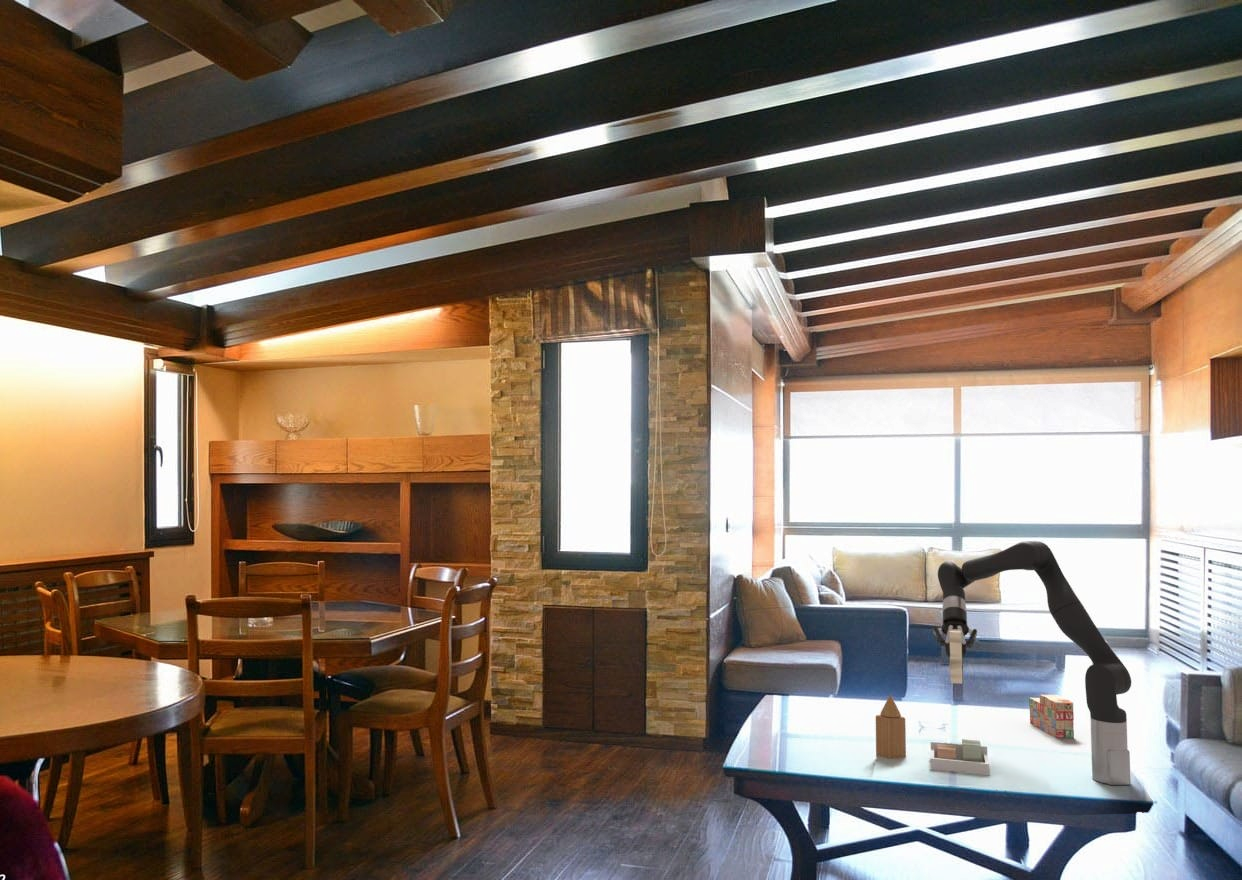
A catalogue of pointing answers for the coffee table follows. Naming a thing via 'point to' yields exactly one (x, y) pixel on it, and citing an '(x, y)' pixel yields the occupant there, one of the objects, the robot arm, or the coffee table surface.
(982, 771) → the white tray
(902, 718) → the decorative item
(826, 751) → the coffee table surface
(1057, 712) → the stack of blocks
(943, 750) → the offcut short
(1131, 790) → the coffee table surface
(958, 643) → the birch board
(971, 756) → the offcut tall
